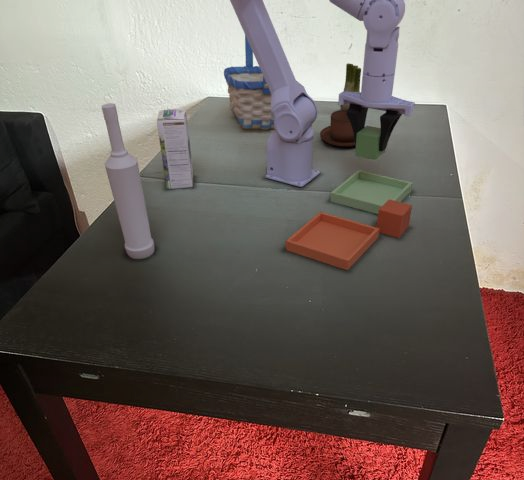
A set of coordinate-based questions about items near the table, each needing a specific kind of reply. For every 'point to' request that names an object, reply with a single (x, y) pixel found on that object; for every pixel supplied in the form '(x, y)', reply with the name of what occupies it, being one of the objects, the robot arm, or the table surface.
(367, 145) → the green block
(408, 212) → the clay block
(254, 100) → the basket
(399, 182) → the green tray
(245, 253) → the table surface
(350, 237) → the clay tray
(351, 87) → the fennel bulb
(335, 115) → the cup and saucer
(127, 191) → the bottle
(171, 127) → the syrup box
